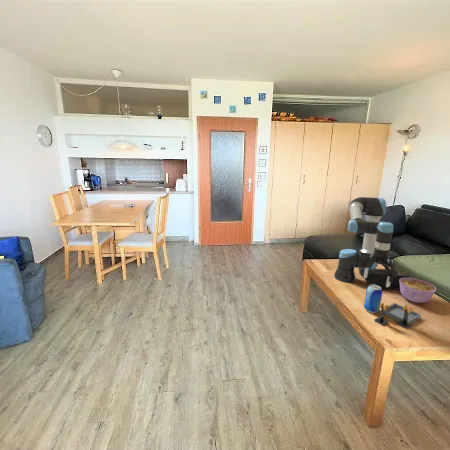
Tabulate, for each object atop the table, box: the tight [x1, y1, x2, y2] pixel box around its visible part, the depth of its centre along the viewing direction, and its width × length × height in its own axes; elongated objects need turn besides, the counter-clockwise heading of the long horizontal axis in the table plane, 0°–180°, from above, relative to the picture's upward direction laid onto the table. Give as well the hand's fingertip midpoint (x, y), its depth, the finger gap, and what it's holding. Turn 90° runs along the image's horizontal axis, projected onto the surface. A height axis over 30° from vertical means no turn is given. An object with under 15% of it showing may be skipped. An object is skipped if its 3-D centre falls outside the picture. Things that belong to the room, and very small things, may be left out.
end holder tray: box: [384, 302, 422, 324], centre depth 154 cm, size 15×15×2 cm
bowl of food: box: [399, 277, 437, 304], centre depth 171 cm, size 20×20×12 cm
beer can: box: [363, 284, 383, 314], centre depth 158 cm, size 8×8×16 cm
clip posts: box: [374, 302, 413, 330], centre depth 145 cm, size 13×14×11 cm
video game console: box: [358, 268, 411, 290], centre depth 197 cm, size 28×25×10 cm
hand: (376, 281), depth 155 cm, fingers open, 13 cm apart
